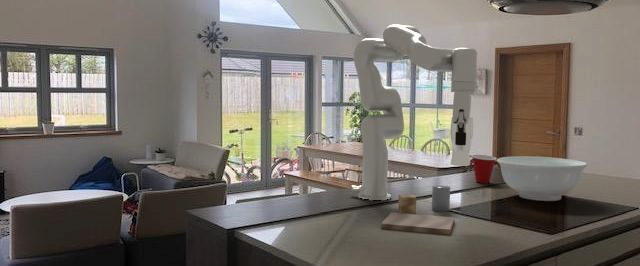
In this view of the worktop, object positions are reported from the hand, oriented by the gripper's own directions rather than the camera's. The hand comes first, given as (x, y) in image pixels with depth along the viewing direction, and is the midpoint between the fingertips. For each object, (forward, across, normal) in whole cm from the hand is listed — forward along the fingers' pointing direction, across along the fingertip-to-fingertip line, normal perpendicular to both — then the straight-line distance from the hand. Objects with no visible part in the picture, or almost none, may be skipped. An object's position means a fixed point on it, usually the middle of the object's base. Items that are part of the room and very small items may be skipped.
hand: (461, 143), depth 179 cm
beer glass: (+7, 0, 0) cm, 7 cm away
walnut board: (+24, +13, -11) cm, 30 cm away
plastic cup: (+25, -77, +7) cm, 81 cm away
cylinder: (+25, -12, -6) cm, 28 cm away
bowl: (+25, -48, +28) cm, 61 cm away
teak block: (+25, -2, -17) cm, 30 cm away
